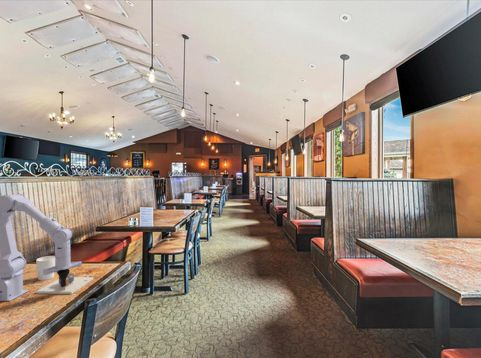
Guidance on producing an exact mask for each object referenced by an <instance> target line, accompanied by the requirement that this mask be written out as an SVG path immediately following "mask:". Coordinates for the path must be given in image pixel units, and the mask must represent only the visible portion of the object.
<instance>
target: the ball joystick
mask: <svg viewBox="0 0 481 358" xmlns="http://www.w3.org/2000/svg"><path fill="white" fill-rule="evenodd" d="M74 277H75V274H74V273H70V272H69V274H68V276H67V278H66V286H68V283H70V282H72V281H74ZM58 279H59V283H60V284H61V279H60V277H59V276H58ZM66 286H65V287H66Z"/></svg>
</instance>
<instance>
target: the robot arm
mask: <svg viewBox="0 0 481 358" xmlns="http://www.w3.org/2000/svg"><path fill="white" fill-rule="evenodd" d="M15 212H24V213H25V214H26V215H28V216H29V217H31V218H32V219H34V220H35V221H36V222H38V224H39V225H38V226H39V228H40V229H41V230H43V231H44V232H45V233H47V235H49V236H50V237H51V241H52V242H53V243H54V256H55V266H54V267H51V268H48V269H45V270H43V275H47V274H50V273H54V274H55V273H56V274H57V275H58V278H59V277H60V279H61V287H65V286H66V278H67V276H68V274H69V273H70V269H74V268H77V267H83V264H82V263H83V262H82V261H81V260H79V261H74V262H71V261H72V260H71V259H72V258H71V257H72V256H71V239H72V237H73V231H72V230H71V229H70V228H69V227H65V226H64V225H61V224H60V223H59V222H58V221H57V219H56V218H55V217H52V216H49V217H48V216H46V215H45V214H44V213H42V211H41V210H39V208H37V206H35V205H34V204H33V203H32V201H31V200H30V198H28V197H26V196H25V194H22V193H14V194H7V195H6V194H4V195H3V194H2V195H1V196H0V302H11V301H13V300H14V299H16V298H18V297H20V296H22V295H24V294H26V293H28V292H29V289H24V269H25V268H26V266H27V260H26V258H24V256H23V253H22V252H21V251H19V250H18V247H17V242H16V237H15V233H14V229H13V224H12V220H11V216H12V215H13V214H14V213H15Z"/></svg>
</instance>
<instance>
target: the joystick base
mask: <svg viewBox="0 0 481 358" xmlns="http://www.w3.org/2000/svg"><path fill="white" fill-rule="evenodd" d="M93 280H94V277H93V276H86V277H85V276H83V277H82V276H74V281H72V282H70V283H68V286H66V287H61V284H60V283H59V278H57V279H56V280H53V281H52V282H50V283H48V284H47V285H45V286H43V287H42V288H39V289H38V290H36V292H35V293H36V294H39V295H43V294H44V295H45V294H46V295H47V294H49V295H50V294H51V295H72V294H74V293H75V292H77V291H78V290H80V289H81V288H82V287H84V286H85V285H87V284H88V283H90V282H92V281H93Z"/></svg>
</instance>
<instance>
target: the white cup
mask: <svg viewBox="0 0 481 358" xmlns="http://www.w3.org/2000/svg"><path fill="white" fill-rule="evenodd" d="M35 262H36V273H37V280H38V281H47V280H50V279H53V278H54V277H55V272H54V273H50V274H47V275H43V270H45V269H48V268H51V267H54V266H55V255H47V256H46V255H45V256H41V257H39V258H37V259H36V260H35Z"/></svg>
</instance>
